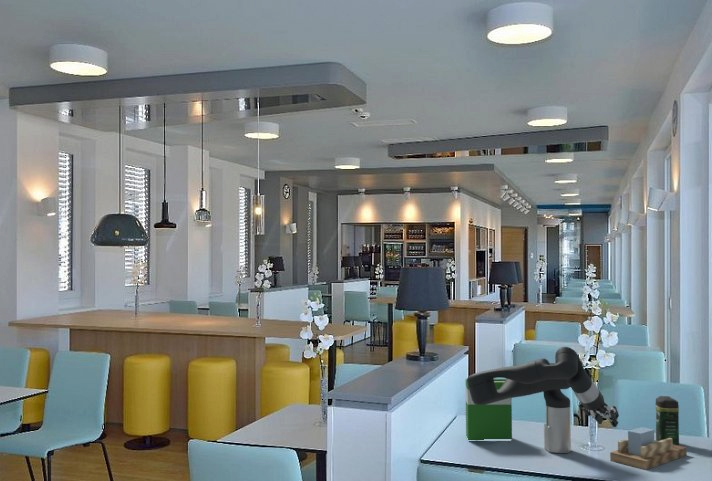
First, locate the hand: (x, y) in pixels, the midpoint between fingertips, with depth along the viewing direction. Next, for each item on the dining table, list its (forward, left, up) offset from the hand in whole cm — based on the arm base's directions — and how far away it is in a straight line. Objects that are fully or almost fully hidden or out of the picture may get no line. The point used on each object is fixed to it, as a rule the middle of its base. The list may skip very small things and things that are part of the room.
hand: (608, 423), depth 244 cm
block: (+17, +12, -14) cm, 25 cm away
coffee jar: (+37, +33, -17) cm, 52 cm away
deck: (+21, +15, -17) cm, 31 cm away
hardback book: (-32, +45, -17) cm, 58 cm away
